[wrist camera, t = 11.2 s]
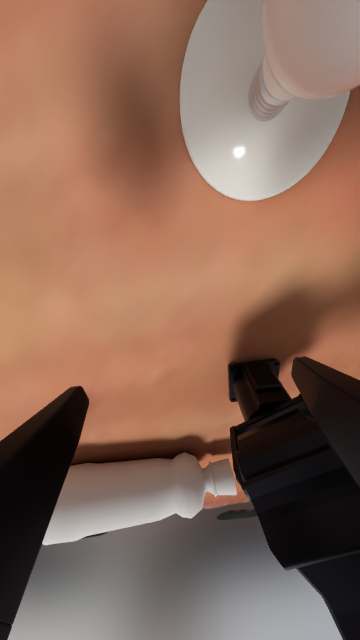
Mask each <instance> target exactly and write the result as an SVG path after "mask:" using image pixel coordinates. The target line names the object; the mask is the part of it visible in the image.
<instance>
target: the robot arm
mask: <svg viewBox="0 0 360 640" xmlns="http://www.w3.org/2000/svg"><path fill="white" fill-rule="evenodd" d="M275 362H276V363H275ZM279 366H280V362H279V361H278V360H277V359H269V360H262V361H254V362H247V363H239V364H232V365H229V366H228V381H229V399H230V401H231V402H236V401H238V404H239V406H240V409H241V412H242V414H243V417H244V420H245V422H243V423H241V424H239V425H237V426H233V427H231V428H230V438H231V448H232V458H233V468H234V472H235V474H236V479H237V482H238V483H239V484H240V485H241V487H242V489H243V491H244V493H245V495H246V496H247V498H248V499H249V500H250V501H251V502H252V503H253V505H254V508H255V510H256V512H257V515H258V517H259V520H260V523H261V526H262V528H263V531H264V534H265V537H266V540H267V542H268V545H269V548H270V550H271V551H272V553H273V554H274V556H275V557H276V558H277V560H278V561H279V563H280V564H281V565H282V567H284V569H285V570H290V569H294V568H296V569H297V570H298V571H299V572H300V573H301V574H302V575H303V576H304V577H305V579H306V580H307V581H308V582H309V583H310V584H311V585H312V586H313V587H314V588H315V589H316V591H317V592H318V593H319V594H320V595H321V596H322V598H323V599H324V601H325V603H326V605H327V607H328V609H329V611H330V613H331V615H332V617H333V619H334V621H335V623H336V626H337V628H338V630H339V632H340V634H341V636H342V638H343V640H360V380H358V379H356V378H353V377H351V376H349V375H347V374H344V373H342V372H340V371H337V370H335V369H333V368H331V367H328V366H326V365H324V364H322V363H319V362H317V361H315V360H313V359H310V358H308V357H305V356H303V357H296V358H294V360H293V366H292V372H291V374H292V378H293V380H294V382H295V384H296V386H297V388H298V390H299V391H300V393H301V394H299V396H297V397H295V398H293V399H292V398H291V397H290V396H289V394H288V393H287V391H286V390H285V388H284V387H283V386H282V383H281V382H280V381H279V379H278V375H279ZM231 368H233V369H231ZM88 406H89V399H88V397H87V395H86V393H85V391H84V389H83V387H81V386H74V387H70V388H69V389H68V390H66V391H65V392H64V393H62V394H61V395H60V396H59V397H57V398H56V399H55V400H53V401H52V402H51V403H49V404H48V405H47V406H46V407H44V408H43V409H42V410H40V411H39V412H38V413H36V414H35V415H34V416H33V417H31V418H30V419H29V420H27V421H26V422H25V423H23V424H22V425H21V426H20V427H18V428H17V429H16V430H14V431H13V432H12V433H10V434H9V435H8V436H7V437H5V438H4V439H3V440H1V441H0V640H7V639H8V636H9V633H10V631H11V628H12V624H13V622H14V619H15V617H16V614H17V611H18V608H19V606H20V603H21V600H22V597H23V595H24V592H25V589H26V586H27V583H28V581H29V578H30V575H31V572H32V570H33V567H34V564H35V562H36V559H37V556H38V553H39V550H40V548H41V545H42V542H43V539H44V537H45V534H46V531H47V528H48V526H49V523H50V520H51V517H52V515H53V512H54V509H55V506H56V504H57V501H58V498H59V495H60V493H61V490H62V487H63V484H64V482H65V479H66V476H67V473H68V471H69V468H70V465H71V462H72V460H73V457H74V454H75V451H76V449H77V446H78V443H79V439H80V436H81V432H82V429H83V425H84V421H85V417H86V413H87V409H88Z"/></svg>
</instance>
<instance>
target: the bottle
mask: <svg viewBox="0 0 360 640" xmlns="http://www.w3.org/2000/svg"><path fill="white" fill-rule="evenodd" d="M207 491H208V492H210V493H212V494H214V495H215V497H217V495H236V487H235V482H234V477H233V473H232V469H231V465H230V462H229V459H228V458H227V459H224V460H220V461H217V462H213V463H211V462H210V461H209V465H208V466H207V467H205V468H204V469H203V468H201V466H200V464H199V462H198V460H197V459H196V457H195V456H193V455H190V454H188V453H185V452H184V453H181V454H179V455H177V456H176V457H175V458H174V459H162V458H154V459H143V460H132V461H122V462H111V463H101V464H95V463H84V464H79V465H73V466H70V468H69V471H68V473H67V476H66V479H65V482H64V484H63V487H62V490H61V493H60V495H59V498H58V501H57V504H56V506H55V509H54V512H53V515H52V517H51V520H50V523H49V526H48V528H47V531H46V534H45V537H44V539H43V542H42V544H44V545H49V544H56V543H64V542H72V541H76V540H79V539H81V538H83V537H85V536H89V535H93V534H98V533H103V532H107V531H111V530H116V529H121V528H126V527H131V526H135V525H140V524H144V523H149V522H154V521H158V520H161V519H164V518H166V517H168V516H170V515H173V514H175V513H177V514H178V515H180V516H182V517H186V518H192V517H193V516H195V515H196V514H197V513H198V512H199V511H200V510H201V509H202V508H203V502H204V497H205V493H206V492H207Z"/></svg>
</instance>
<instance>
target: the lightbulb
mask: <svg viewBox="0 0 360 640" xmlns="http://www.w3.org/2000/svg"><path fill="white" fill-rule="evenodd" d="M261 26H262V38H263V45H264V54H263V60H262V62H261V64H260V66H259V68H258V70H257V72H256V74H255V76H254V78H253V80H252V82H251V84H250V88H249V93H248V104H249V109H250V111H251V113H252V115H253V116H254V117H255V118H256V119H257V120H259V121H263V122H265V121H270V120H272V119H273V118H275V117H276V116H277V115H278V114H279V113H280V112H281V111H282V110H283V109H284V107H285V106H286V105H287V104H288V103H289V102H290V101H291V100H293V99H295V98H300V99H304V100H323V99H328V98H332V97H335V96H338V95H341V94H343V93H346V92H348V91H350V90H352V89H354V88H356V87H358V86H359V85H360V0H262V2H261Z"/></svg>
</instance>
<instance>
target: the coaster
mask: <svg viewBox="0 0 360 640" xmlns="http://www.w3.org/2000/svg"><path fill="white" fill-rule="evenodd" d="M261 2H262V0H207V2H206V4H205V6H204V7H203V9H202V11H201V13H200V15H199V17H198V19H197V21H196V24H195V26H194V28H193V31H192V33H191V36H190V40H189V43H188V46H187V49H186V53H185V58H184V62H183V67H182V75H181V83H180V121H181V127H182V133H183V137H184V141H185V145H186V148H187V151H188V154H189V156H190V159H191V161H192V163H193V164H194V166H195V168H196V170H197V171H198V173H199V174H200V176H201V177H202V178H203V179H204V180H205V182H206V183H207V184H208V185H209V186H210V187H212V188H213V189H214V190H215V191H217V192H218V193H220V194H222V195H223V196H226V197H228V198H231V199H235V200H239V201H258V200H262V199H266V198H269V197H272V196H275V195H277V194H280V193H281V192H283V191H285V190H287V189H289V188H290V187H292V186H293V185H294V184H296V183H297V182H298V181H300V180H301V179H302V178H303V177H304V176H305V175H306V174H307V173H308V172H309V171H310V170H311V169H312V168H313V167H314V166H315V165H316V163H317V162H318V161H319V159H320V158H321V157H322V155H323V154H324V152H325V151H326V149H327V148H328V146H329V144H330V143H331V141H332V139H333V137H334V135H335V133H336V131H337V129H338V127H339V125H340V122H341V120H342V117H343V115H344V112H345V109H346V106H347V103H348V99H349V95H350V91H351V90H350V91H348V92H346V93H343V94H341V95H338V96H335V97H332V98H328V99H323V100H304V99H300V98H295V99H293V100H291V101H290V102H289V103H288V104H287V105H286V106H285V107H284V109H283V110H282V111H281V112H280V113H279V114H278V115H277V116H276V117H275V118H273V119H272V120H270V121H265V122H263V121H259V120H257V119H256V118H255V117H254V116H253V115H252V113H251V111H250V109H249V104H248V93H249V88H250V84H251V82H252V80H253V78H254V76H255V74H256V72H257V70H258V68H259V66H260V64H261V62H262V60H263V54H264V45H263V38H262V26H261Z"/></svg>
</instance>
